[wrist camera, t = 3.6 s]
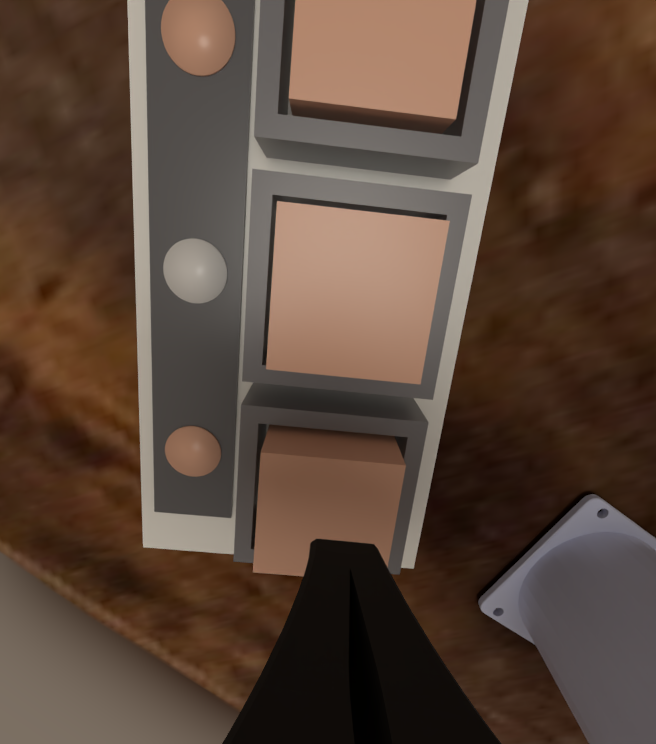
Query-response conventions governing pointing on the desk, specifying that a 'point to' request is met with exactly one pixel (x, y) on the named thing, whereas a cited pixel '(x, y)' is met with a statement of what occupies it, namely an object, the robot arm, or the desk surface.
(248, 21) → the button board
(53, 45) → the desk surface
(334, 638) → the robot arm
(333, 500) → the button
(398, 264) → the button middle
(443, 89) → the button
